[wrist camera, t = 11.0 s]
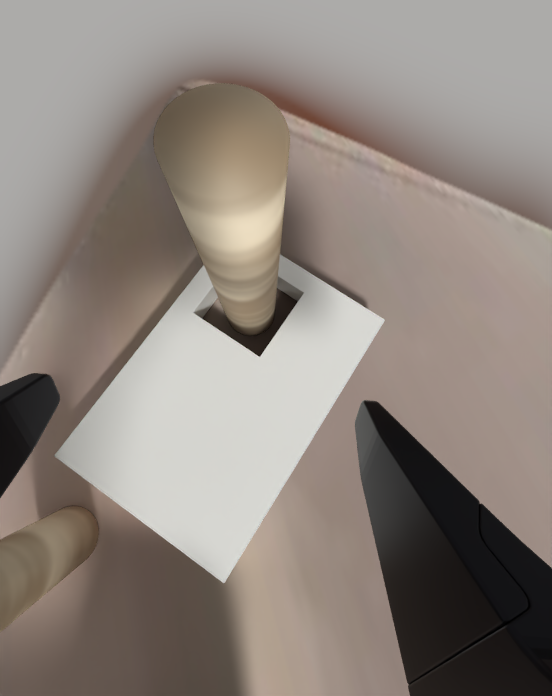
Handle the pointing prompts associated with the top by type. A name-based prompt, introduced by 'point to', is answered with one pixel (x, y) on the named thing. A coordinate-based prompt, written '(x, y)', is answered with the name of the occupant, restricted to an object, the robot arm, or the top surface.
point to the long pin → (230, 191)
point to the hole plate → (218, 416)
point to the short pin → (42, 558)
